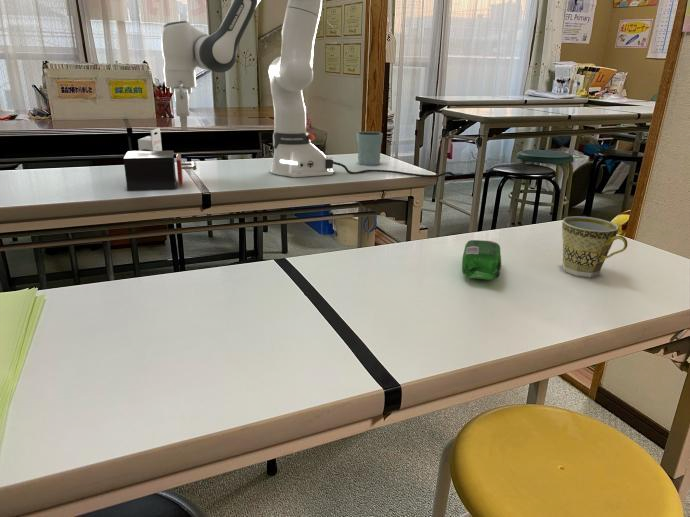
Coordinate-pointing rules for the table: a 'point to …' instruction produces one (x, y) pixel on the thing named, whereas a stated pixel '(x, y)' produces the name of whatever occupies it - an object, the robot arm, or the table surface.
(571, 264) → the ceramic cup
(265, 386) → the table surface
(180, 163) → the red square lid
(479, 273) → the snack package
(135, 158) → the black drawer casing
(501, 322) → the table surface
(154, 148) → the ink box
